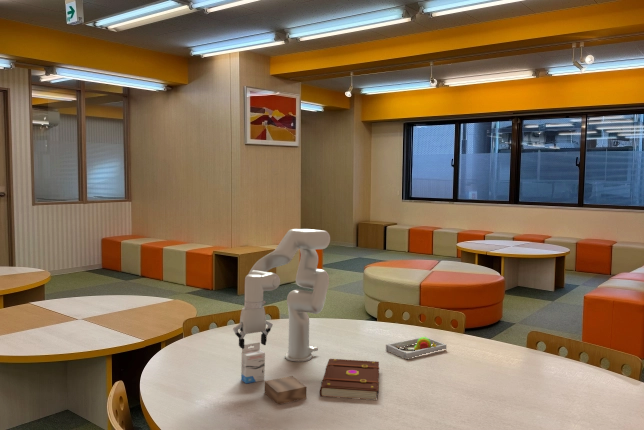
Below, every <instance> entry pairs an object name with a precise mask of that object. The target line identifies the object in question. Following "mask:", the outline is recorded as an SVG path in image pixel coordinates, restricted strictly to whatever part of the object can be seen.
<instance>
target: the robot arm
mask: <svg viewBox="0 0 644 430" xmlns="http://www.w3.org/2000/svg"><path fill="white" fill-rule="evenodd" d="M330 242H331V235H330V233H329V232H328V231H327V230H321V229H314V228H313V229H311V228H292V229H291V228H290V229H289V230H288V231H287V232H286V233H285V235H284V236H283V237H282V239H281V240H280V242H279V243H278V244H277V246H276V248H275V249H274V250H272V251H271V252H270V253H268V254H266V255H263V257H261V258H259V259H258V260H257V261H256V262H255V263H254V264H253V266H252V267H251V269H250V270H249V272H248V274H247V275H245V278H244V305H243V307H242V308H241V311H240V317H239V318H240V319H239V324H238V325H235V326H234V327H233V328H232V331H233V332H234V335H236V337H237V338H238V346H239V348H241V350H242V349H244V345H245V336H247V335H248V334H255V333H256V334H257V333H260V345H263V346H266V345H267V338H268V336H269V335H268V334H269V333H270V332H271V329H272V327H273V323H272V322H270V321H267V319H266V317H267V316H266V310H265V307H264V305H266V303H267V302H266V300H264V292H266V291H267V292H269V291H274V290H276V289H278V288H279V286H280V285H281V279H280V278H281V277H280V276H279V275H278V274H277V273H275V272H271V271H270V270H271V269H273V268H277V267H282V266H285V265H288V264H290V262H291V261H292V260H293V258H294V257H295V255H296V254H297V252H298V251H299V252H300V258H299V259H300V260H299V263H298V267H297V271H296V276H295V284H296V285H297V286H299V287H301V288H304V289H310V290H312V291H310V290H303V289H293V290H291V291H289V293H288V294H287V297H286V304H287V310H288V347H287V348H288V352H286V353H285V354H284V358H285V359H286V360H287V361H291V362H297V363H298V362H300V363H301V362H308V361H310V360H311V359H312V358H313V354H312V353H313V352H318V351H319V347H318V346H314V347H313V346H310V317H309V314H312V315H313V314H320V313H321V312H322V310H323V309H324V306H325V303H326V297H327V293H328V289H329V284H330V276H329V274H328V272H327V271H326V270H325V269H323V268H318V264H319V254H318V252H317V251H316V250H324V249H326V248H328V246H329V244H330ZM269 271H270V272H269ZM308 313H309V314H308ZM239 331H240V332H239Z"/></svg>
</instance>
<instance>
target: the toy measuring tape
mask: <svg viewBox="0 0 644 430" xmlns="http://www.w3.org/2000/svg"><path fill="white" fill-rule="evenodd" d="M420 337H421V338H420ZM420 337H418V338H419V339H418V341H417V344H416V345H413V347H409V348H410V349H409V350H411V349H414V350H420V349H425V348H429V347H436V345H435V343H433V345H432V346H431V342H430V340H429V339H428V338H429V337H428V338H426V337H427V336H420ZM396 348H399V346H396ZM404 348H405V347H403V348H399V349H400V350H405V349H404ZM414 350H413V351H414Z"/></svg>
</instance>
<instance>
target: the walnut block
mask: <svg viewBox="0 0 644 430" xmlns="http://www.w3.org/2000/svg"><path fill="white" fill-rule="evenodd" d="M307 389H308V387H307V385H305V384H304V383H302V382H301V381H300V380H299V379H298V378H296V377H294V376H293V375H290V376H289V375H288V376H285V377H278V378H274V379H268V380H264V394H265V395H266V396H267V397H268V398H269V399H271V400H272V401H273V402H274V403H275V404H276V405H278V406H279V405H284V404H287V403H292V402H298V401H302V400H306V399H307Z"/></svg>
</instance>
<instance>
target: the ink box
mask: <svg viewBox="0 0 644 430" xmlns="http://www.w3.org/2000/svg"><path fill="white" fill-rule="evenodd" d="M260 348H261V342H253V343H247V344H244V349H242V348H241V365H240V366H241V370H240V371H241V373H240V374H241V375H240V376H241V377H240V380H241V381H242V382H244V383H245V384H252V383H256V382H261V381H265V371H266V370H265V366H266V365H265V364H266V363H265V362H266V353H265V351H263V350H261V349H260Z"/></svg>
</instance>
